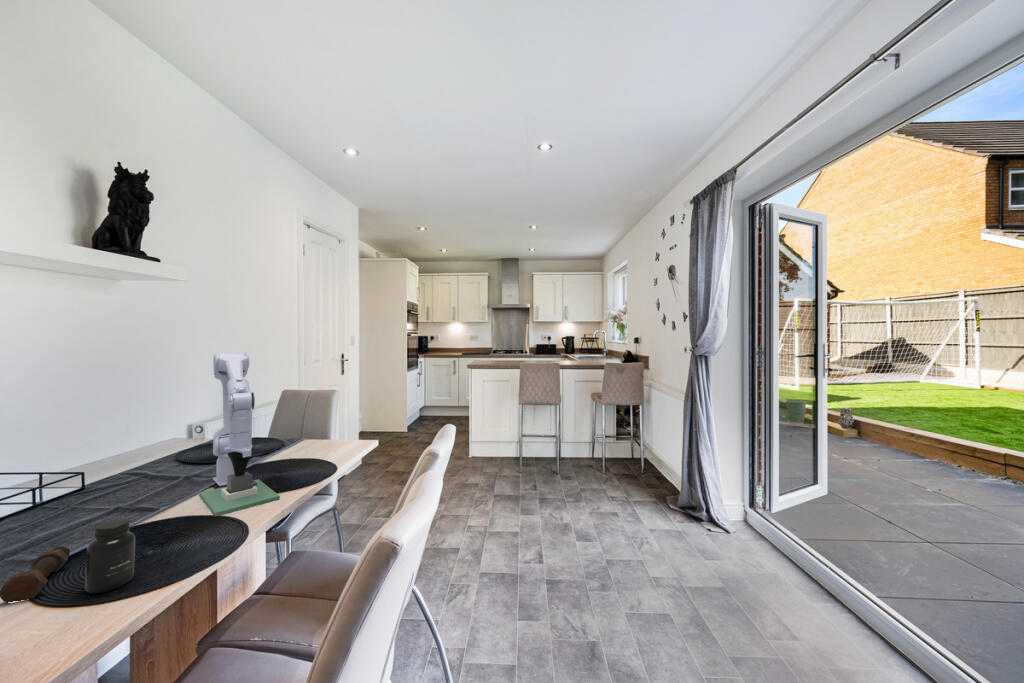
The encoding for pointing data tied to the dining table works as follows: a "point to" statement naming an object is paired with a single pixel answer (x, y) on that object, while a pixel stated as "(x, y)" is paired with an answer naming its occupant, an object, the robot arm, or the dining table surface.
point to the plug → (239, 482)
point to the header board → (237, 498)
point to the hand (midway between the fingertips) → (239, 475)
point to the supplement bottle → (110, 557)
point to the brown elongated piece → (34, 576)
